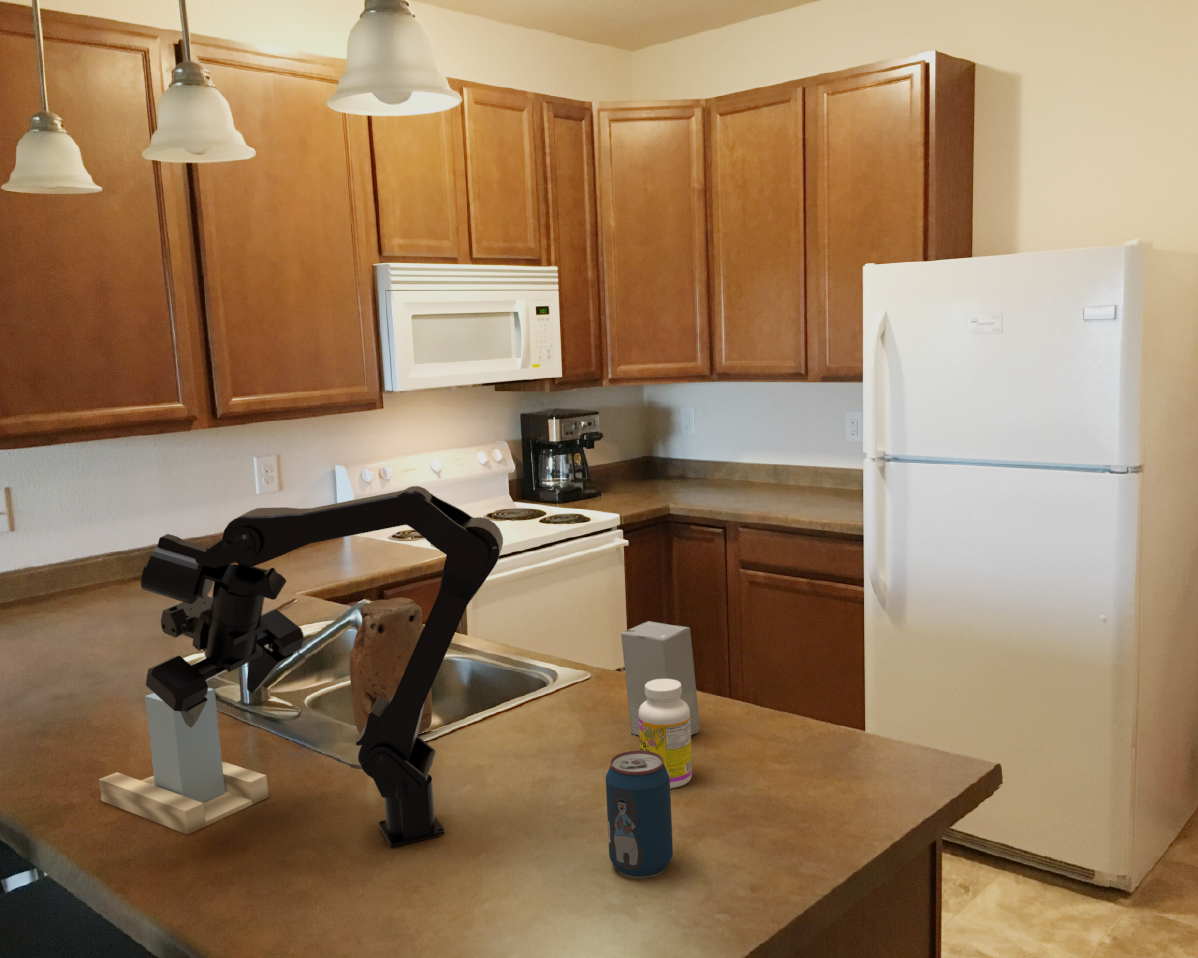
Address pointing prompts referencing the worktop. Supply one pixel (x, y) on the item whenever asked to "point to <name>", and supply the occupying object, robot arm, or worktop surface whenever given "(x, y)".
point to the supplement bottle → (667, 728)
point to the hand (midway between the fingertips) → (220, 707)
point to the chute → (184, 799)
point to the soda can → (639, 814)
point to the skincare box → (658, 665)
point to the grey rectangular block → (186, 750)
